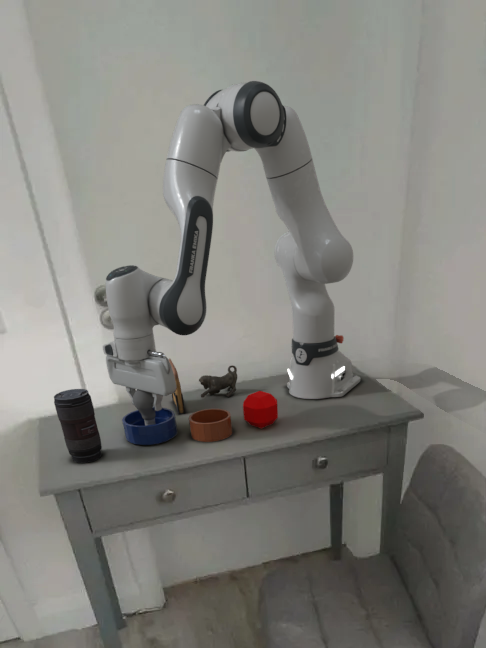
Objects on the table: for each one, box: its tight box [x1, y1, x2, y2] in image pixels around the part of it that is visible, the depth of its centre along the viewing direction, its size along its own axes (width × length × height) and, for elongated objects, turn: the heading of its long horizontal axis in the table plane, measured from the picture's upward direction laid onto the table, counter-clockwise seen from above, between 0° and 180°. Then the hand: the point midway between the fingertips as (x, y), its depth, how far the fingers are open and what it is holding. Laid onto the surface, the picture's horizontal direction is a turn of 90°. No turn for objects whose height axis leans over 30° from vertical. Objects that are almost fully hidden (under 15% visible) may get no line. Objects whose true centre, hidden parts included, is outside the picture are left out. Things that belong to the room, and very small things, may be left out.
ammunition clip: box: [168, 357, 186, 415], centre depth 163 cm, size 11×2×12 cm, turn 16°
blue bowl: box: [121, 407, 179, 446], centre depth 150 cm, size 13×13×5 cm
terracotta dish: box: [188, 408, 233, 443], centre depth 149 cm, size 10×10×4 cm
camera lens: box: [53, 388, 103, 464], centre depth 139 cm, size 8×8×15 cm
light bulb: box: [133, 389, 156, 426], centre depth 147 cm, size 6×6×10 cm
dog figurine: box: [198, 365, 238, 399], centre depth 171 cm, size 12×6×7 cm, turn 114°
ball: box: [242, 390, 279, 430], centre depth 151 cm, size 8×8×8 cm
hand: (147, 407), depth 147 cm, fingers closed on light bulb, 6 cm apart
